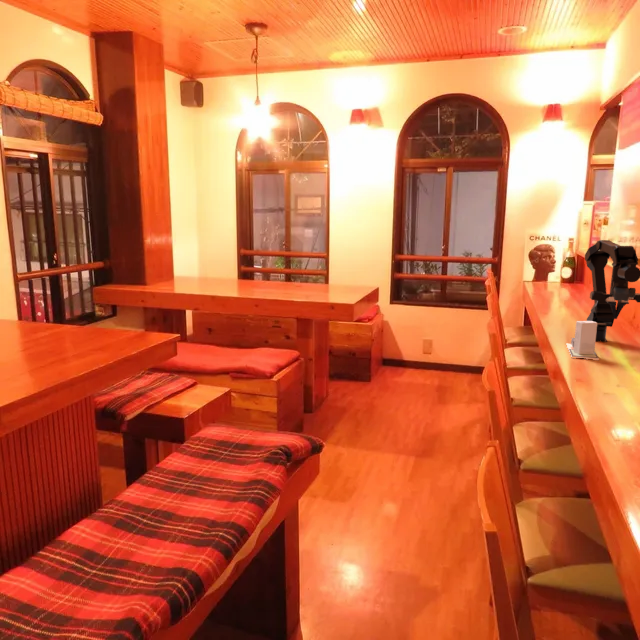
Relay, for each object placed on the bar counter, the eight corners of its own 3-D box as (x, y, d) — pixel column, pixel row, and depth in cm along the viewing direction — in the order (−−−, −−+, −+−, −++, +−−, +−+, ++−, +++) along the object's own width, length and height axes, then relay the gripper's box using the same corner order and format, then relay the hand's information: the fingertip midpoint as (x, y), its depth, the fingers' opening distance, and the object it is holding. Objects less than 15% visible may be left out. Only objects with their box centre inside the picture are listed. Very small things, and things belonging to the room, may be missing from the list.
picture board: (565, 345, 218) (566, 337, 218) (590, 347, 216) (591, 339, 215) (571, 358, 200) (572, 349, 199) (598, 360, 197) (599, 351, 196)
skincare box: (587, 351, 206) (591, 320, 203) (594, 354, 201) (598, 322, 199) (572, 351, 205) (575, 320, 202) (579, 355, 201) (582, 322, 198)
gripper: (596, 280, 203) (591, 321, 206) (653, 282, 197) (647, 324, 200) (591, 276, 213) (587, 315, 217) (645, 278, 208) (640, 318, 211)
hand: (615, 318), depth 211 cm, fingers closed
